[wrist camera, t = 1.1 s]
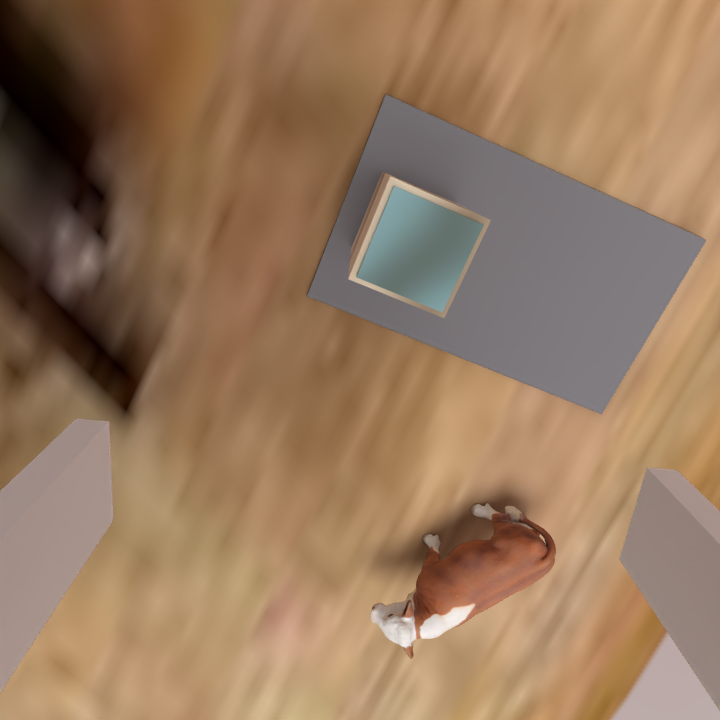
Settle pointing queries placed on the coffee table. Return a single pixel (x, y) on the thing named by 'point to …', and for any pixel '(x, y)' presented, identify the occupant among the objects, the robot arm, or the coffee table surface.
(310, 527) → the coffee table surface
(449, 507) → the coffee table surface
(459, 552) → the bull figurine
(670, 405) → the coffee table surface
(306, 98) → the coffee table surface
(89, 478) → the robot arm
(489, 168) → the felt mat
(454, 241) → the beech block
